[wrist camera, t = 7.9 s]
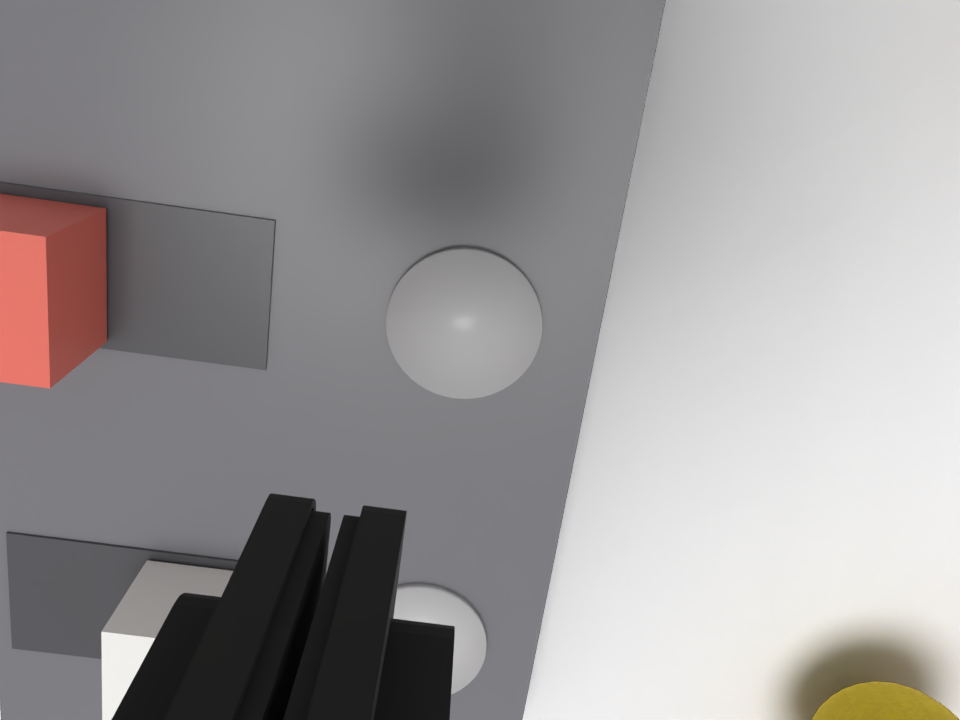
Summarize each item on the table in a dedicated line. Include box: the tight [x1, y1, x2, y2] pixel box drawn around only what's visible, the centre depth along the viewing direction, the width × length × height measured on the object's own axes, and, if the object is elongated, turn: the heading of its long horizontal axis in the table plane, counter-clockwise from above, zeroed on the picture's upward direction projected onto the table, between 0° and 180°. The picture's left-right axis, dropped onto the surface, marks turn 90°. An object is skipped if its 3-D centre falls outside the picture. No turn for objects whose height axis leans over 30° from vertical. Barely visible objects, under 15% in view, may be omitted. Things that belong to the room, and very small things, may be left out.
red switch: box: [0, 194, 107, 388], centre depth 21 cm, size 4×3×3 cm
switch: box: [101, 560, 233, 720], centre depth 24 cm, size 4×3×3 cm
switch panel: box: [0, 0, 665, 720], centre depth 24 cm, size 30×16×4 cm, turn 172°
